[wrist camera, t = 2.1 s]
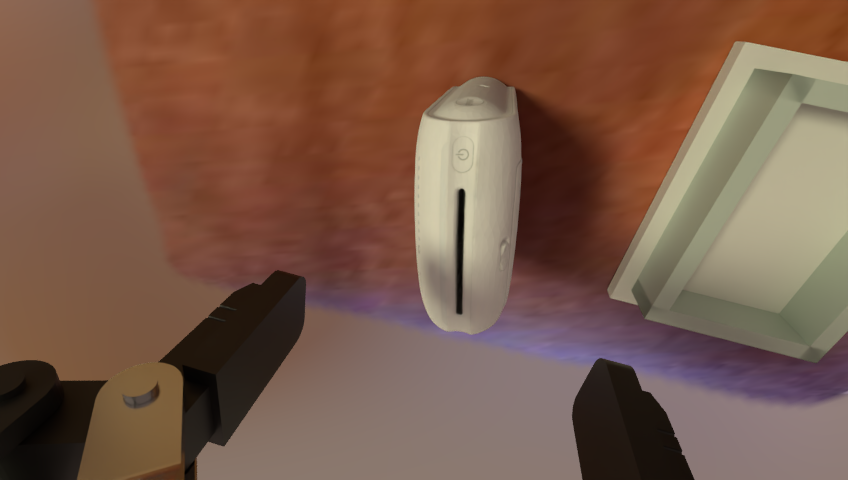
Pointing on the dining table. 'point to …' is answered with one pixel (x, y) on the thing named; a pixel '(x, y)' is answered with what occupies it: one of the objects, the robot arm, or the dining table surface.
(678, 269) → the printer dock
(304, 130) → the dining table surface
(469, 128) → the photo printer
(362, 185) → the dining table surface
